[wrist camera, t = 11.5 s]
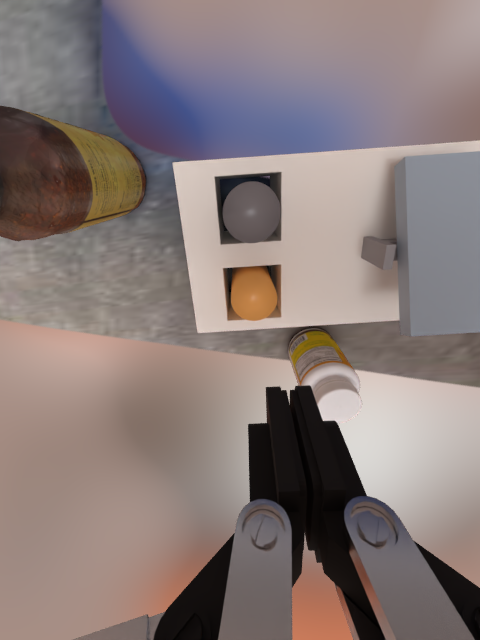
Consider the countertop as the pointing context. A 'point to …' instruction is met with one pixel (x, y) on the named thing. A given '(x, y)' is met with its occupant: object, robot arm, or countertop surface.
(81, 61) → the countertop surface
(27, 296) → the countertop surface
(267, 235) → the button charcoal
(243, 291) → the button orange
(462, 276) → the rocker
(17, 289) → the countertop surface
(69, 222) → the sauce bottle
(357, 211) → the panel
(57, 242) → the countertop surface
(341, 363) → the supplement bottle
